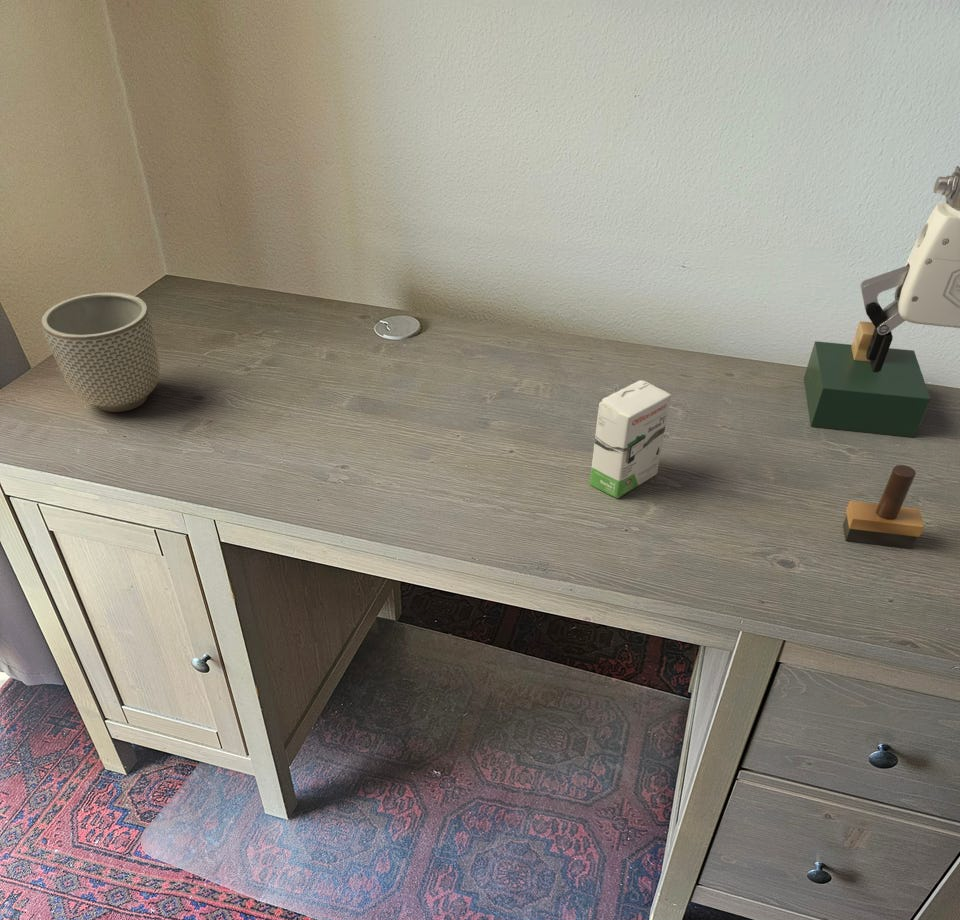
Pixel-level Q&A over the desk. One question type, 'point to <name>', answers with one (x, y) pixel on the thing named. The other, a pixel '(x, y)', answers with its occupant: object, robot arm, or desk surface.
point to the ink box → (629, 438)
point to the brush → (886, 515)
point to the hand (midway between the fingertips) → (922, 371)
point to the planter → (105, 348)
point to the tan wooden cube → (862, 340)
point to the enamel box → (865, 391)
